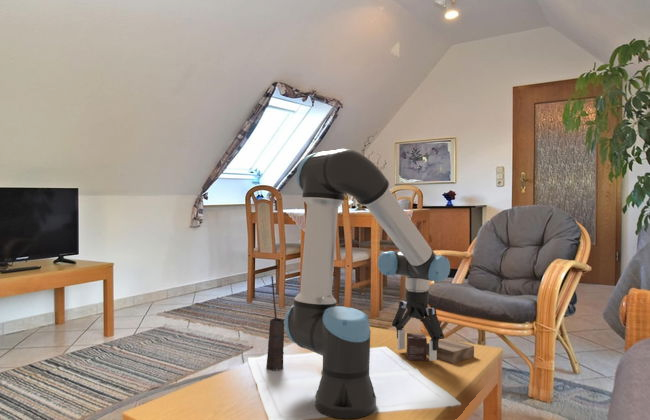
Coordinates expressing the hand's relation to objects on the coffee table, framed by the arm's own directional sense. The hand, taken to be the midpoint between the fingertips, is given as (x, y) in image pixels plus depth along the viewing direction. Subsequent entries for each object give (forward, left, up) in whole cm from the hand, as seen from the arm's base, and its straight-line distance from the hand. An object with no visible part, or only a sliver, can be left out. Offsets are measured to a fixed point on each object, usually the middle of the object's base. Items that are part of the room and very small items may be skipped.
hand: (416, 354), depth 150 cm
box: (0, 0, -1) cm, 1 cm away
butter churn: (-42, +18, -1) cm, 46 cm away
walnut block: (+11, -5, -2) cm, 12 cm away
